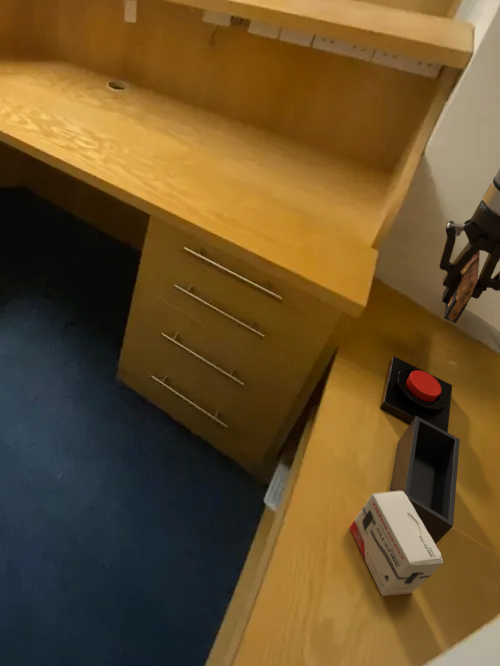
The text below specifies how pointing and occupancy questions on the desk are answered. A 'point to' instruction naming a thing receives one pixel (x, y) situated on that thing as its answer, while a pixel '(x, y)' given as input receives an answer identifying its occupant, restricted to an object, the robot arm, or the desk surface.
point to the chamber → (428, 474)
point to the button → (423, 386)
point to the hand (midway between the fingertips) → (452, 301)
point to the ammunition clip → (463, 290)
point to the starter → (414, 397)
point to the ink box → (395, 543)
